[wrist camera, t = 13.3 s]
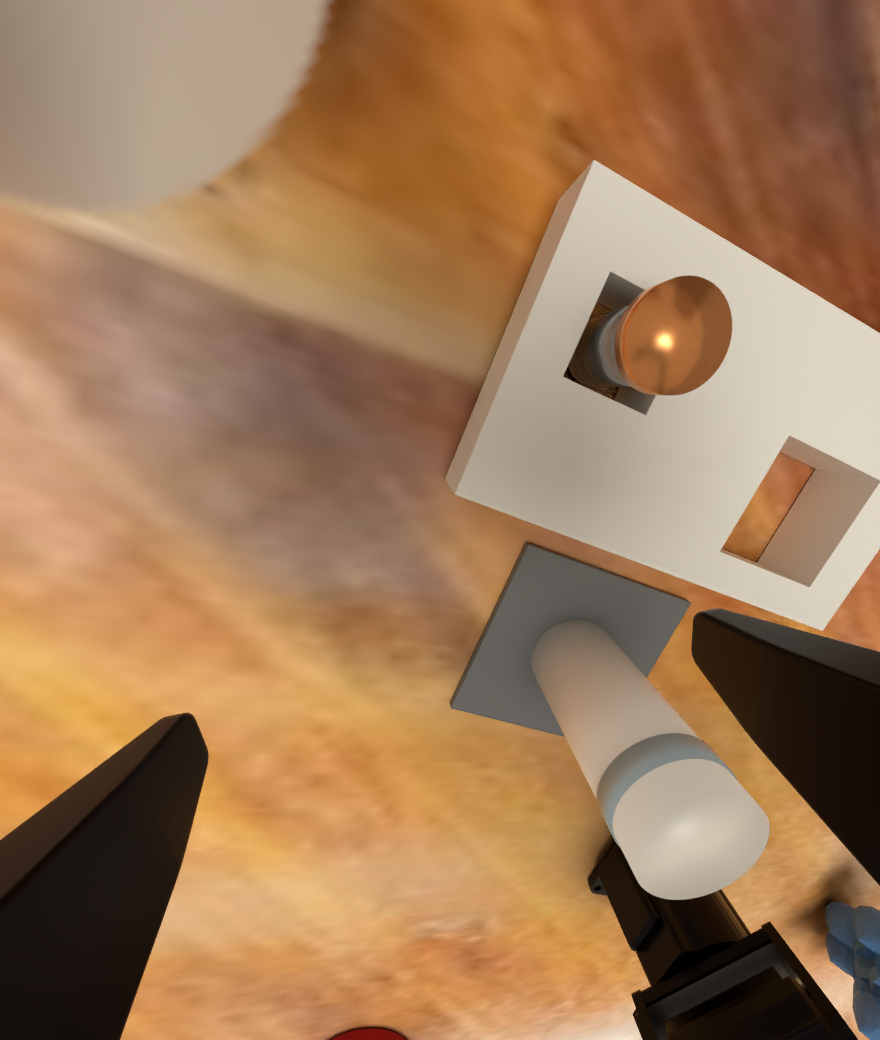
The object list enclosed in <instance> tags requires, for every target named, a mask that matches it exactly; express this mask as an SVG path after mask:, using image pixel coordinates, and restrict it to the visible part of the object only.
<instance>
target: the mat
mask: <svg viewBox="0 0 880 1040" xmlns="http://www.w3.org/2000/svg"><path fill="white" fill-rule="evenodd" d="M690 604H691V602H689V601H688V600H686V599H683V598H681V597H678V596H675V595H672V594H670V593H667V592H664V591H661V590H658V589H656V588H653V587H650V586H647V585H644V584H642V583H639V582H636V581H633V580H630V579H628V578H625V577H622V576H619V575H616V574H614V573H611V572H608V571H605V570H603V569H600V568H597V567H594V566H591V565H589V564H586V563H583V562H580V561H577V560H575V559H572V558H569V557H566V556H563V555H561V554H558V553H555V552H552V551H549V550H547V549H544V548H541V547H538V546H535V545H533V544H530V543H527V542H526V543H525V545H524V548H523V550H522V552H521V554H520V556H519V558H518V560H517V562H516V564H515V567H514V569H513V571H512V573H511V575H510V577H509V579H508V581H507V584H506V586H505V588H504V590H503V592H502V594H501V596H500V598H499V600H498V603H497V605H496V607H495V609H494V611H493V613H492V615H491V617H490V619H489V622H488V624H487V626H486V628H485V630H484V632H483V634H482V636H481V638H480V641H479V643H478V645H477V647H476V649H475V651H474V653H473V655H472V658H471V660H470V662H469V664H468V666H467V668H466V670H465V672H464V674H463V677H462V679H461V681H460V683H459V685H458V687H457V689H456V691H455V693H454V696H453V698H452V700H451V702H450V706H451V708H452V709H456V710H460V711H464V712H468V713H472V714H476V715H480V716H484V717H488V718H492V719H496V720H500V721H504V722H508V723H512V724H516V725H520V726H524V727H528V728H532V729H536V730H540V731H544V732H548V733H552V734H556V735H560V736H564V734H563V732H562V730H561V728H560V726H559V724H558V722H557V720H556V718H555V716H554V714H553V712H552V710H551V708H550V706H549V704H548V702H547V700H546V698H545V696H544V694H543V692H542V690H541V688H540V686H539V684H538V682H537V680H536V678H535V676H534V674H533V672H532V668H531V654H532V651H533V648H534V646H535V644H536V642H537V641H538V639H539V638H540V637H541V636H542V635H543V634H544V633H545V632H546V631H547V630H548V629H550V628H551V627H553V626H555V625H557V624H559V623H561V622H564V621H568V620H574V619H581V620H588V621H591V622H594V623H596V624H597V625H599V626H600V627H601V628H603V630H604V631H605V632H606V633H607V634H608V635H609V636H610V637H611V638H612V640H613V641H614V642H615V643H616V644H617V645H618V646H619V648H620V649H621V650H622V651H623V652H624V653H625V654H626V655H627V657H628V658H629V659H630V660H631V661H632V662H633V663H634V664H635V666H636V667H637V668H638V669H639V670H640V671H641V672H642V674H643V675H644V676H645V677H646V678H647V676H648V674H649V673H650V671H651V669H652V668H653V666H654V664H655V663H656V661H657V659H658V658H659V656H660V654H661V653H662V651H663V649H664V648H665V646H666V644H667V643H668V641H669V639H670V638H671V636H672V634H673V633H674V631H675V629H676V628H677V626H678V624H679V623H680V621H681V619H682V618H683V616H684V614H685V613H686V611H687V609H688V608H689V606H690ZM564 737H565V736H564Z"/></svg>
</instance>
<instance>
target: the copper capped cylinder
mask: <svg viewBox="0 0 880 1040" xmlns="http://www.w3.org/2000/svg"><path fill="white" fill-rule="evenodd" d="M731 336H732V315H731V310H730V307H729V304H728V301H727V299H726V298H725V296H724V294H723V293H722V291H721V290H720V289H719V288H718V287H717V286H716V285H715V284H713V283H712V282H711V281H709V280H707V279H705V278H702V277H698V276H691V275H688V276H679V277H675V278H672V279H670V280H667V281H665V282H662V283H660V284H657V285H654V286H652V287H650V288H648V289H646V290H645V291H643V292H642V293H641V294H639V295H638V296H637V297H636V298H635V299H634V300H633V301H632V302H631V303H630V305H628V306H626V307H623V308H620V309H617V310H614V311H612V312H609V313H606V314H603V315H600V316H597V317H595V318H592V319H589V320H588V322H587V324H586V327H585V329H584V331H583V333H582V335H581V338H580V340H579V342H578V344H577V347H576V349H575V351H574V353H573V356H572V358H571V360H570V362H569V364H568V367H569V370H570V372H571V374H572V375H573V377H574V378H575V379H576V380H577V381H578V382H580V383H581V384H583V385H586V386H589V387H633V388H634V389H636V390H637V391H639V392H642V393H644V394H648V395H665V396H673V395H681V394H685V393H688V392H691V391H693V390H695V389H697V388H698V387H700V386H701V385H703V384H704V383H705V382H707V381H708V380H709V379H710V378H711V377H712V376H713V375H714V374H715V372H716V371H717V370H718V368H719V367H720V365H721V364H722V362H723V360H724V358H725V356H726V354H727V351H728V349H729V346H730V341H731Z"/></svg>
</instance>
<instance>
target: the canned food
mask: <svg viewBox="0 0 880 1040" xmlns="http://www.w3.org/2000/svg"><path fill="white" fill-rule="evenodd" d="M331 1040H405V1039H404V1038H403V1037H402V1036H401V1035H399V1034H398V1033H396V1032H393V1031H391V1030H387V1029H381V1028H363V1029H356V1030H352V1031H348V1032H346V1033H343V1034H340V1035H338V1036H336V1037H335V1038H333V1039H331Z"/></svg>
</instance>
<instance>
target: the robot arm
mask: <svg viewBox="0 0 880 1040" xmlns="http://www.w3.org/2000/svg"><path fill="white" fill-rule="evenodd" d="M691 650H692V656H693V659H694V661H695V663H696V664H697V666H698V667H699V669H700V670H701V671H702V673H703V674H704V675H705V677H706V678H707V679H708V681H709V682H710V684H711V685H712V686H713V688H714V689H715V690H716V692H717V693H718V694H719V696H720V697H721V699H722V700H723V701H724V703H725V704H726V705H727V707H728V708H729V709H730V711H731V712H732V713H733V715H734V716H735V718H736V719H737V720H738V722H739V723H740V724H741V726H742V727H743V728H744V730H745V731H746V732H747V733H748V735H749V736H750V737H751V739H752V740H753V741H754V742H755V744H756V745H757V746H758V747H759V748H760V749H761V751H762V752H763V753H764V754H765V755H766V756H767V758H768V759H769V760H770V761H771V762H772V763H773V764H774V766H775V767H776V768H777V769H778V770H779V771H780V772H781V774H782V775H783V776H784V777H785V778H786V779H787V780H788V782H789V783H790V784H791V785H792V786H793V787H794V788H795V790H796V791H797V792H798V793H799V794H800V795H801V796H802V798H803V799H804V800H805V801H806V802H807V803H808V804H809V806H810V807H811V808H812V809H813V810H814V811H815V812H816V814H817V815H818V816H819V817H820V818H821V819H822V820H823V822H824V823H825V824H826V825H827V826H828V827H829V828H830V830H831V831H832V832H833V833H834V834H835V835H836V836H837V838H838V839H839V840H840V841H841V842H842V843H843V844H844V846H845V847H846V848H847V849H848V850H849V851H850V852H851V854H852V855H853V856H854V857H855V858H856V859H857V860H858V862H859V863H860V864H861V865H862V866H863V867H864V868H865V870H866V871H867V872H868V873H869V874H870V875H871V876H872V877H873V879H874V880H875V881H876V882H877V883H878V884H879V885H880V652H879V651H875V650H871V649H867V648H864V647H860V646H856V645H853V644H849V643H845V642H842V641H838V640H834V639H831V638H827V637H823V636H820V635H816V634H812V633H809V632H805V631H801V630H797V629H794V628H790V627H786V626H783V625H779V624H775V623H772V622H768V621H764V620H761V619H757V618H753V617H750V616H746V615H742V614H739V613H735V612H731V611H727V610H724V609H711V610H706V611H701V612H698V613H697V614H696V615H695V616H694V619H693V632H692V648H691ZM207 765H208V749H207V746H206V744H205V741H204V739H203V736H202V734H201V732H200V729H199V727H198V724H197V722H196V719H195V718H194V716H193V715H192V714H190V713H182V714H177V715H172V716H167V717H164V718H162V719H160V720H159V721H157V722H156V723H155V724H154V725H152V726H151V727H150V728H148V729H147V730H146V731H144V732H143V733H142V734H140V735H139V736H138V737H136V738H135V739H134V740H132V741H131V742H130V743H128V744H127V745H126V746H124V747H123V748H122V749H120V750H119V751H118V752H116V753H115V754H114V755H112V756H111V757H110V758H108V759H107V760H106V761H104V762H103V763H102V764H100V765H99V766H98V767H97V768H95V769H94V770H93V771H91V772H90V773H89V774H87V775H86V776H85V777H83V778H82V779H81V780H79V781H78V782H77V783H75V784H74V785H73V786H71V787H70V788H69V789H67V790H66V791H65V792H63V793H62V794H61V795H59V796H58V797H57V798H55V799H54V800H53V801H51V802H50V803H49V804H47V805H46V806H45V807H44V808H42V809H41V810H40V811H38V812H37V813H36V814H34V815H33V816H32V817H30V818H29V819H28V820H26V821H25V822H24V823H22V824H21V825H20V826H18V827H17V828H16V829H14V830H13V831H12V832H10V833H9V834H8V835H6V836H5V837H4V838H2V839H1V840H0V1040H120V1038H121V1035H122V1032H123V1030H124V1027H125V1024H126V1021H127V1018H128V1016H129V1013H130V1010H131V1007H132V1004H133V1001H134V999H135V996H136V993H137V990H138V987H139V985H140V982H141V979H142V976H143V973H144V970H145V968H146V965H147V962H148V959H149V956H150V954H151V951H152V948H153V945H154V942H155V939H156V937H157V934H158V931H159V928H160V925H161V923H162V920H163V917H164V914H165V911H166V909H167V906H168V903H169V900H170V897H171V894H172V892H173V889H174V886H175V883H176V880H177V877H178V874H179V871H180V868H181V865H182V861H183V858H184V854H185V851H186V847H187V843H188V839H189V835H190V832H191V828H192V824H193V820H194V816H195V812H196V808H197V804H198V801H199V797H200V793H201V789H202V785H203V781H204V777H205V773H206V770H207ZM588 885H589V887H590V890H591V892H592V893H595V894H601V895H607V896H608V898H609V900H610V903H611V905H612V907H613V910H614V912H615V914H616V917H617V919H618V921H619V923H620V926H621V928H622V930H623V933H624V935H625V937H626V940H627V942H628V944H629V946H630V948H631V950H633V951H636V953H637V956H638V958H639V960H640V962H641V965H642V967H643V969H644V971H645V974H646V976H647V978H648V980H649V983H650V985H651V987H649V988H647V989H645V990H643V991H641V990H638V991H636V992H634V993H632V994H631V995H632V998H633V1001H634V1004H635V1007H636V1009H635V1011H634V1013H633V1016H634V1019H635V1021H636V1024H637V1027H638V1029H639V1032H640V1034H641V1037H642V1039H643V1040H858V1039H857V1037H856V1036H855V1035H854V1033H853V1032H852V1030H851V1029H850V1028H849V1026H848V1025H847V1024H846V1022H845V1021H844V1019H843V1018H842V1017H841V1015H840V1014H839V1013H838V1011H837V1010H836V1009H835V1007H834V1006H833V1005H832V1003H831V1002H830V1001H829V999H828V998H827V997H826V995H825V994H824V993H823V991H822V990H821V989H820V987H819V986H818V985H817V983H816V982H815V981H814V979H813V978H812V977H811V975H810V974H809V973H808V972H807V970H806V969H805V968H804V966H803V965H802V964H801V962H800V961H799V960H798V958H797V957H796V956H795V954H794V953H793V952H792V950H791V949H790V948H789V946H788V945H787V944H786V942H785V941H784V940H783V938H782V937H781V936H780V934H779V933H778V932H777V930H776V929H775V928H774V926H773V925H772V924H771V922H770V921H769V922H767V923H765V924H764V925H762V926H761V927H762V928H761V929H759V930H758V931H756V932H754V933H752V934H751V933H750V931H749V930H748V928H747V927H746V925H745V924H744V922H743V921H742V919H741V918H740V916H739V915H738V914H737V912H736V911H735V909H734V908H733V906H732V905H731V903H730V902H729V900H728V899H727V897H726V896H725V894H724V893H723V891H722V890H721V889H720V890H718V891H716V892H713V893H711V894H708V895H705V896H701V897H697V898H692V899H685V900H670V899H664V898H659V897H657V896H654V895H652V894H650V893H648V892H647V891H646V890H644V889H643V888H642V887H641V886H640V884H639V883H638V881H637V879H636V877H635V875H634V873H633V871H632V869H631V867H630V865H629V863H628V861H627V860H626V858H625V856H624V854H623V852H622V850H621V848H620V847H619V845H618V844H617V843H616V842H615V841H614V843H613V844H612V846H611V847H610V849H609V851H608V852H607V854H606V855H605V857H604V858H603V860H602V861H601V863H600V864H599V866H598V867H597V869H596V871H595V872H594V874H593V875H592V877H591V878H590V880H589V882H588Z"/></svg>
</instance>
